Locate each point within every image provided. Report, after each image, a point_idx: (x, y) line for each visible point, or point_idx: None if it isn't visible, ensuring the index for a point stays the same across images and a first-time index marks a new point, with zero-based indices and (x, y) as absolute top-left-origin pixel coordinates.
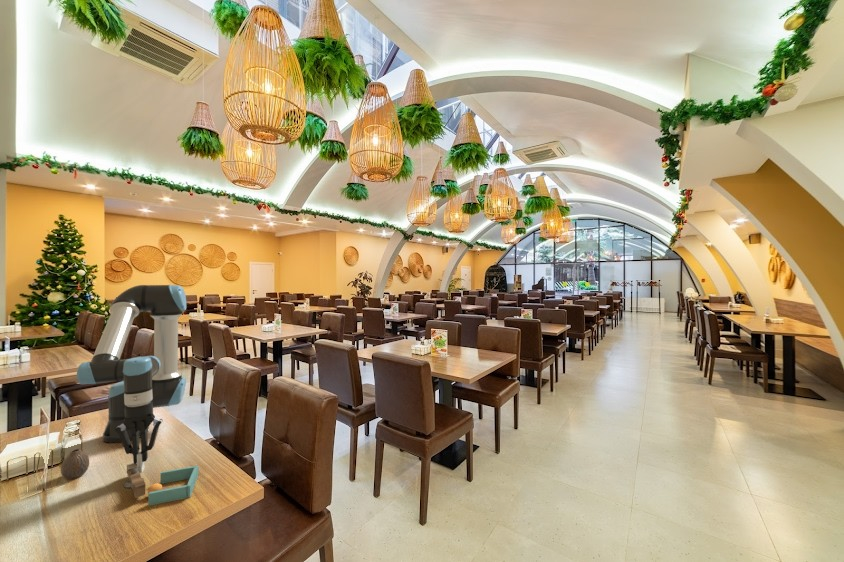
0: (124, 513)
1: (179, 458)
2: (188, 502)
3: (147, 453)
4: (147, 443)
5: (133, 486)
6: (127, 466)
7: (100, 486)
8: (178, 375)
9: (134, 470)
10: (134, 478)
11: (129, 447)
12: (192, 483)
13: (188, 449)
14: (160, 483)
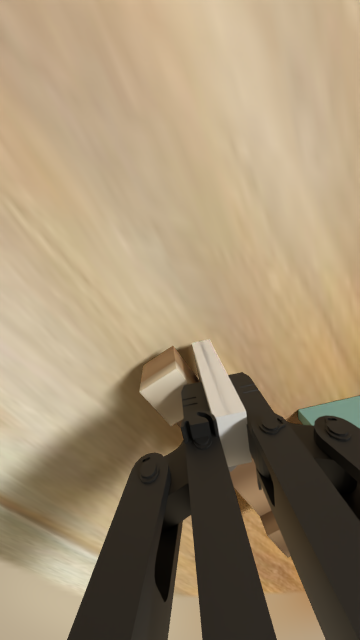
0: (253, 521)
1: (323, 209)
2: None
3: (263, 397)
4: (324, 480)
5: (260, 516)
6: (159, 410)
7: (87, 411)
8: None
9: (229, 469)
10: (241, 479)
11: (173, 570)
12: None
13: (356, 63)
14: (299, 419)
